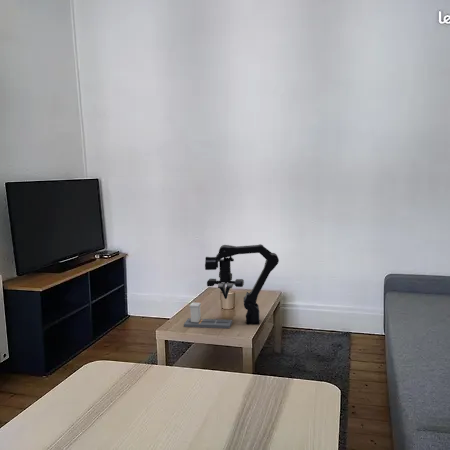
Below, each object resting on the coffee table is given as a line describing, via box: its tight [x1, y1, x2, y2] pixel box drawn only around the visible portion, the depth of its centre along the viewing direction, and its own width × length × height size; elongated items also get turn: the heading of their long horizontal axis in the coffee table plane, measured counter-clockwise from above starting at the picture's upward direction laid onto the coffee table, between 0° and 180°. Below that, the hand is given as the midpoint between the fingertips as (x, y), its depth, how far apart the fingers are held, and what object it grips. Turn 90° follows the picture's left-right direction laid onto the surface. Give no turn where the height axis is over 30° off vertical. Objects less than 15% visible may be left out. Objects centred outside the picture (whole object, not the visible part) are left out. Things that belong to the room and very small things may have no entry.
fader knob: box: [189, 302, 202, 322], centre depth 241 cm, size 5×6×9 cm
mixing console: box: [183, 317, 233, 329], centre depth 241 cm, size 24×9×2 cm, turn 80°
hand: (225, 298), depth 241 cm, fingers closed
